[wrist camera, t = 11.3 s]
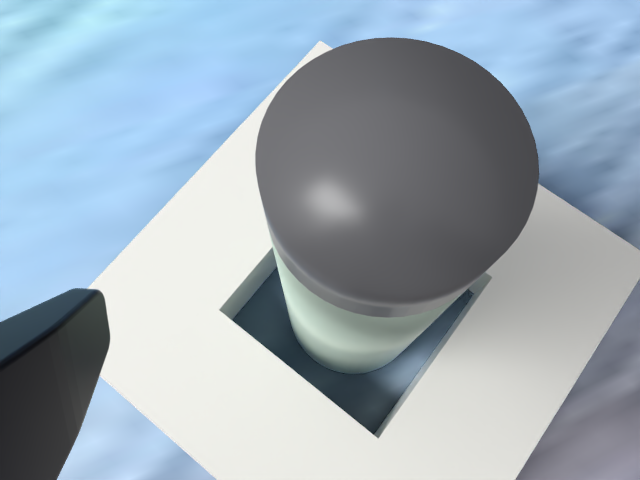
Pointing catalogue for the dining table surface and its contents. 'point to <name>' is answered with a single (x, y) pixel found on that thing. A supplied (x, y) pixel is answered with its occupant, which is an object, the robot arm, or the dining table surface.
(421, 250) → the capped bottle
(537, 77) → the dining table surface
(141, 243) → the housing
